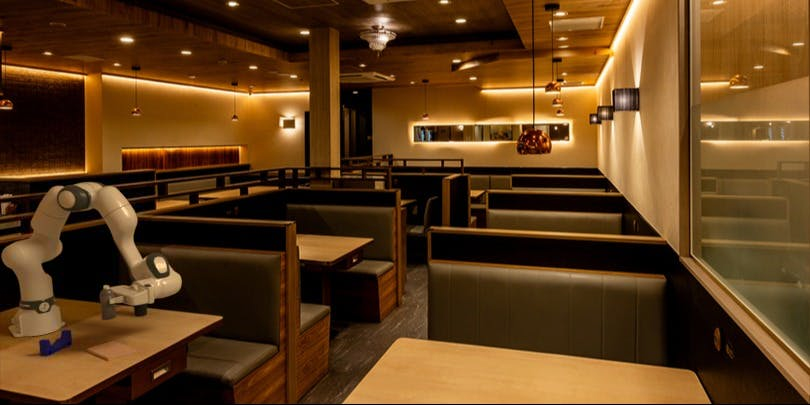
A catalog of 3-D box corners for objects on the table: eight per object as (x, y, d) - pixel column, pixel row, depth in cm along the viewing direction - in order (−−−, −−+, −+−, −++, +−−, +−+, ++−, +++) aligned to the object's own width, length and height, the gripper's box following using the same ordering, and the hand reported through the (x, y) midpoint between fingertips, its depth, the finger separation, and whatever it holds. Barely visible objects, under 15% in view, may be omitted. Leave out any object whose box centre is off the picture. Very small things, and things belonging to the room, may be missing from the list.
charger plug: (99, 318, 207) (96, 286, 206) (111, 315, 211) (109, 283, 210) (105, 320, 205) (103, 287, 203) (118, 317, 208) (115, 285, 207)
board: (87, 351, 210) (86, 348, 210) (113, 343, 218) (113, 340, 218) (108, 360, 201) (108, 358, 201) (135, 351, 209) (135, 349, 209)
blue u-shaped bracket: (62, 344, 218) (60, 329, 217) (72, 344, 217) (71, 329, 217) (36, 356, 206) (35, 340, 206) (47, 356, 206) (46, 341, 205)
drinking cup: (144, 311, 258) (141, 268, 256) (153, 314, 254) (150, 270, 251) (128, 315, 252) (125, 272, 250) (137, 318, 247) (134, 274, 245)
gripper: (126, 279, 223) (90, 287, 212) (155, 287, 211) (118, 296, 200) (127, 295, 224) (91, 303, 213) (156, 303, 212) (119, 313, 201)
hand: (104, 300), depth 206 cm, fingers closed on charger plug, 5 cm apart
